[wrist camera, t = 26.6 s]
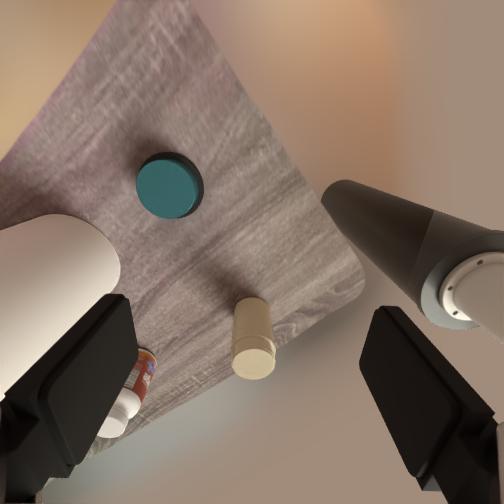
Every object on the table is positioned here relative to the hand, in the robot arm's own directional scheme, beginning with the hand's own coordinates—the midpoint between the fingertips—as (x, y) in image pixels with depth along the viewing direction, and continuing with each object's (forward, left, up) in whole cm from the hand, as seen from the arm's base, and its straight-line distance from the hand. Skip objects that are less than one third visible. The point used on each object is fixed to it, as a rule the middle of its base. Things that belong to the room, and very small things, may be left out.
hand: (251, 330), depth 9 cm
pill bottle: (+18, +29, -24) cm, 41 cm away
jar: (-1, +18, -24) cm, 30 cm away
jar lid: (+10, -1, -22) cm, 24 cm away
